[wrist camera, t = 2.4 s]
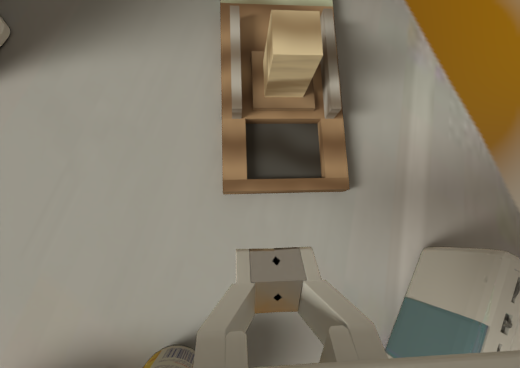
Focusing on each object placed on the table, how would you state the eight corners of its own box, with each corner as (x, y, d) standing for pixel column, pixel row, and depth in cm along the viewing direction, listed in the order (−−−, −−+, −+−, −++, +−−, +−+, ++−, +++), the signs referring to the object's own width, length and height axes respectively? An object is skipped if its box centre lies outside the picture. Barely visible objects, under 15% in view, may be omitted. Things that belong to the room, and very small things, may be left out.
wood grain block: (313, 110, 39) (339, 69, 30) (252, 110, 39) (258, 68, 29) (309, 55, 41) (332, -2, 31) (251, 54, 40) (256, -4, 30)
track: (343, 191, 40) (359, 184, 35) (223, 194, 38) (221, 187, 34) (323, -43, 46) (333, -76, 42) (220, -48, 45) (218, -83, 40)
